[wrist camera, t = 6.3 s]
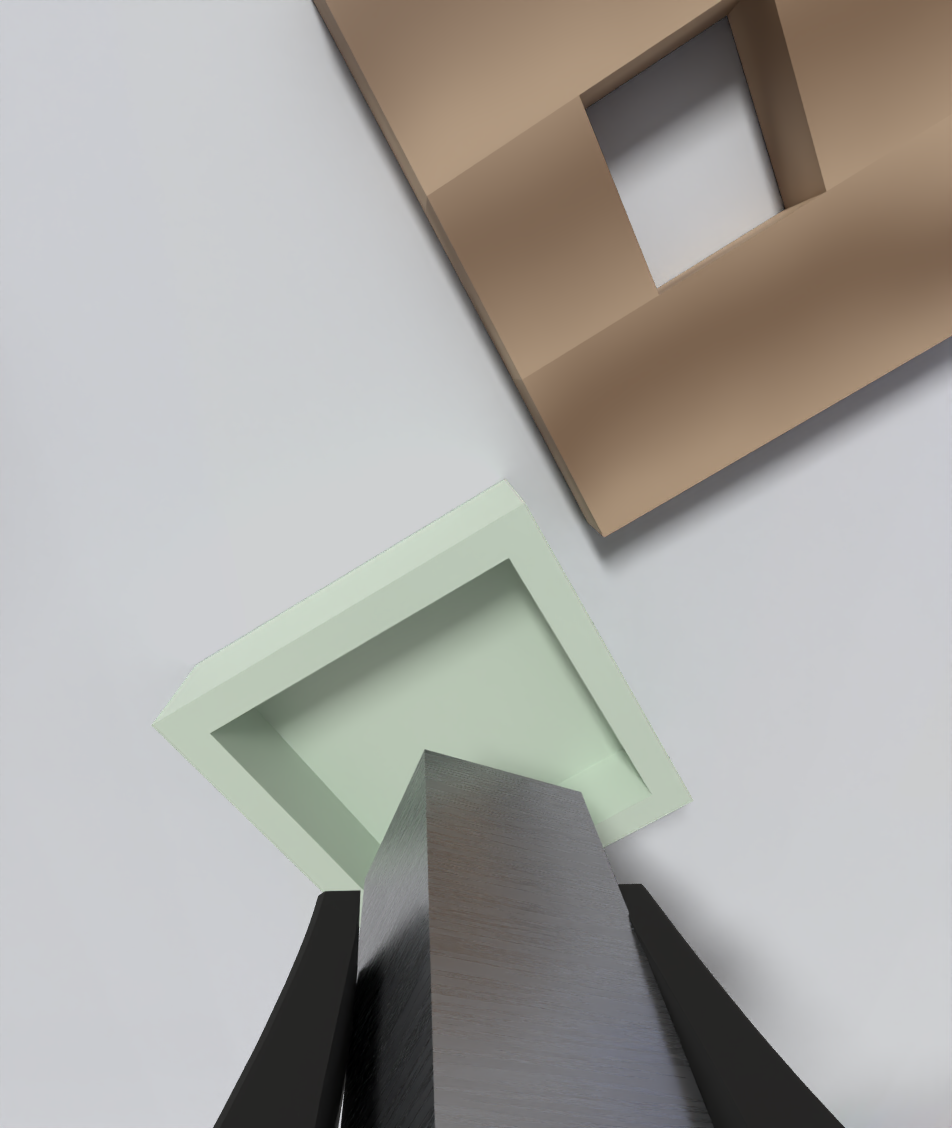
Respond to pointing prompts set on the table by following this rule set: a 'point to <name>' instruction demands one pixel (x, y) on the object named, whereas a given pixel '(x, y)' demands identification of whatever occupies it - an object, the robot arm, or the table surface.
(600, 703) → the tray
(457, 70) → the tan flat square frame
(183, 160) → the table surface
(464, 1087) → the pin
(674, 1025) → the robot arm
